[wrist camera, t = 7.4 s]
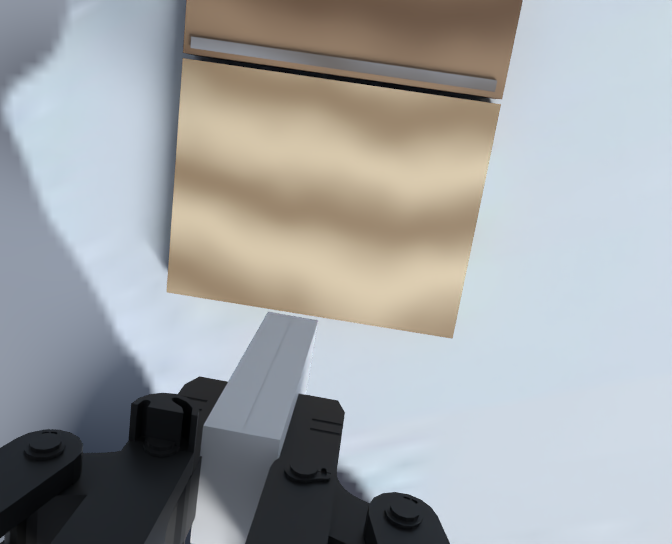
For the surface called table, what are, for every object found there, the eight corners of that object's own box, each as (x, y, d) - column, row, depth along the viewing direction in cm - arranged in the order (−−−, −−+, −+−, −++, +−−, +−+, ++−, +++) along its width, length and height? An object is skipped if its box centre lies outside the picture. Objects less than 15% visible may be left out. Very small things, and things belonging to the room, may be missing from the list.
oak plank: (193, 60, 36) (182, 58, 34) (494, 104, 36) (500, 104, 34) (177, 283, 40) (166, 292, 38) (449, 327, 39) (452, 338, 37)
